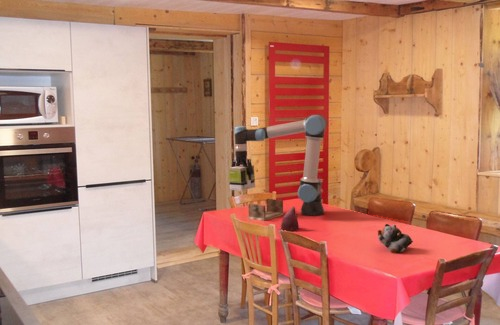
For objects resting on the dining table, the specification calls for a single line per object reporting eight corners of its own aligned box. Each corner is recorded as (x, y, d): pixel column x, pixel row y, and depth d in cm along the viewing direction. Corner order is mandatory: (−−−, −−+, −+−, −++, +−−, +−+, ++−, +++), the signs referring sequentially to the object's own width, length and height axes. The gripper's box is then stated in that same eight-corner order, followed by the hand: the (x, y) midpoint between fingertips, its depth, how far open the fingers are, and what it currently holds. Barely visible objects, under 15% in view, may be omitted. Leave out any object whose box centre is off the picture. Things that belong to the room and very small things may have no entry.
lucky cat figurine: (398, 255, 259) (383, 229, 260) (382, 259, 269) (368, 234, 270) (418, 241, 266) (404, 216, 267) (402, 245, 276) (388, 221, 278)
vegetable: (299, 233, 318) (306, 208, 317) (293, 235, 309) (300, 209, 307) (283, 227, 322) (290, 203, 321) (277, 229, 313) (284, 204, 312)
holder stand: (284, 214, 356) (283, 200, 354) (263, 221, 337) (262, 206, 336) (269, 212, 363) (268, 198, 362) (247, 219, 344) (247, 204, 343)
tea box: (243, 186, 363) (242, 164, 362) (255, 187, 357) (254, 165, 356) (229, 190, 351) (228, 167, 350) (241, 191, 345) (240, 167, 344)
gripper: (223, 150, 355) (225, 184, 358) (251, 151, 342) (252, 186, 344) (231, 149, 361) (232, 182, 364) (258, 150, 348) (259, 184, 350)
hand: (242, 184), depth 354 cm, fingers closed on tea box, 10 cm apart
